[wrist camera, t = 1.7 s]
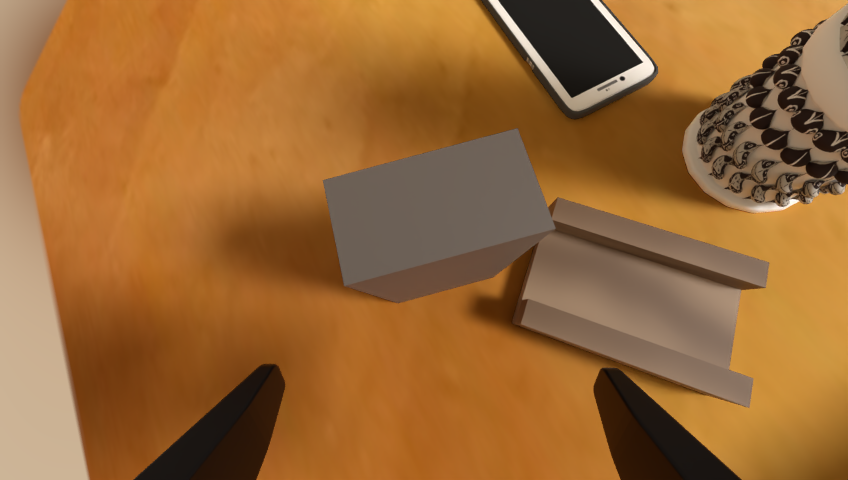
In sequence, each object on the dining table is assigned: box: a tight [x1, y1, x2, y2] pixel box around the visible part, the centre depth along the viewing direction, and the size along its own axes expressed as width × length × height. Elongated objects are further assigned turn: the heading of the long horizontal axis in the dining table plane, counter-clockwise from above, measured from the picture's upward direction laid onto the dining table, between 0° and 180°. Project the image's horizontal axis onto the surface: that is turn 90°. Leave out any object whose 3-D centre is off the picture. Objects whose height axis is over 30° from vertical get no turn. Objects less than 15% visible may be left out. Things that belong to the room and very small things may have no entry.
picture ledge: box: [512, 198, 769, 408], centre depth 19 cm, size 8×12×2 cm, turn 70°
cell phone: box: [481, 0, 658, 119], centre depth 25 cm, size 8×15×1 cm, turn 27°
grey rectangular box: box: [323, 128, 556, 303], centre depth 16 cm, size 4×6×12 cm, turn 105°
